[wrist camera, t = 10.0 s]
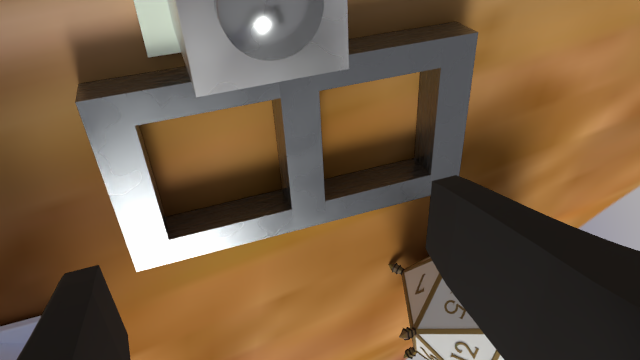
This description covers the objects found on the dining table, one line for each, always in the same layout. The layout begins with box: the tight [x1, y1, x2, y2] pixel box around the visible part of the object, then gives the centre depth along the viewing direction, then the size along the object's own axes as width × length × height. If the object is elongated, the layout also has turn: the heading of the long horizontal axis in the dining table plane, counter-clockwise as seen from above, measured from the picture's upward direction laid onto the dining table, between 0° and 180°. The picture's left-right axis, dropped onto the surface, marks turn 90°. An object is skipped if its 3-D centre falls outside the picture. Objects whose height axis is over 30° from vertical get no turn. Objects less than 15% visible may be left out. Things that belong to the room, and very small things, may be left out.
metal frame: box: [76, 22, 478, 272], centre depth 20 cm, size 15×8×2 cm, turn 93°
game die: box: [388, 256, 504, 360], centre depth 26 cm, size 9×8×10 cm
